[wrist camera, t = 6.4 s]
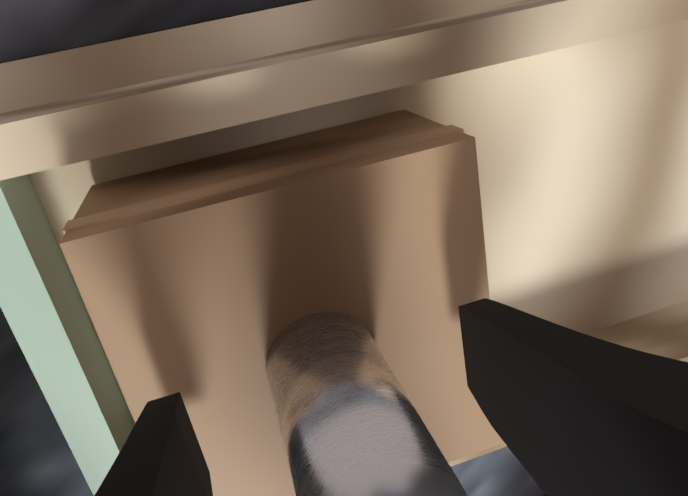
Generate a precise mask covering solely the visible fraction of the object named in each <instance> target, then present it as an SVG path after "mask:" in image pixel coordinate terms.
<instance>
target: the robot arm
mask: <svg viewBox="0 0 688 496" xmlns="http://www.w3.org/2000/svg"><path fill="white" fill-rule="evenodd" d="M458 309H459V317H460V326H461V335H462V343H463V352H464V360H465V369H466V377H467V386H468V388H469V390H470V391H471V393H472V395H473V396H474V398H475V400H476V401H477V403H478V405H479V407H480V408H481V410H482V412H483V413H484V415H485V416H486V418H487V420H488V421H489V423H490V424H491V426H492V427H493V428H494V430H495V431H496V432H497V434H498V435H499V436H500V437H501V439H502V440H503V441H504V443H505V444H506V445H507V446H508V448H509V449H510V450H511V451H512V453H513V454H514V455H515V456H516V458H517V459H518V460H519V461H520V463H521V464H522V465H523V466H524V468H525V469H526V470H527V471H528V473H529V474H530V475H531V476H532V477H533V479H534V480H535V481H536V482H537V484H538V485H539V486H540V487H541V489H542V490H543V491H544V492H545V494H546V495H547V496H688V362H684V361H680V360H676V359H672V358H667V357H663V356H659V355H655V354H650V353H646V352H642V351H639V350H635V349H631V348H628V347H625V346H621V345H618V344H615V343H611V342H608V341H605V340H602V339H598V338H595V337H592V336H589V335H586V334H583V333H580V332H577V331H575V330H572V329H569V328H566V327H563V326H561V325H558V324H555V323H553V322H550V321H547V320H545V319H542V318H539V317H537V316H534V315H531V314H529V313H526V312H524V311H521V310H518V309H516V308H513V307H510V306H508V305H505V304H502V303H499V302H496V301H494V300H490V299H487V298H484V299H480V300H477V301H474V302H471V303H467V304H464V305H461V306H458ZM94 496H213V492H212V485H211V478H210V472H209V469H208V466H207V463H206V461H205V458H204V455H203V453H202V450H201V447H200V445H199V442H198V439H197V437H196V434H195V431H194V429H193V426H192V423H191V421H190V418H189V415H188V413H187V410H186V407H185V404H184V402H183V399H182V396H181V394H180V392H178V393H175V394H171V395H168V396H165V397H162V398H158V399H155V400H152V401H149V402H147V404H146V405H145V407H144V409H143V410H142V412H141V414H140V416H139V417H138V419H137V421H136V423H135V425H134V427H133V429H132V430H131V432H130V434H129V436H128V438H127V440H126V442H125V443H124V445H123V447H122V449H121V451H120V452H119V454H118V456H117V458H116V460H115V461H114V463H113V465H112V466H111V468H110V470H109V472H108V473H107V475H106V477H105V478H104V480H103V482H102V484H101V485H100V487H99V489H98V490H97V492H96V494H95V495H94Z"/></svg>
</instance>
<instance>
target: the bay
mask: <svg viewBox="0 0 688 496" xmlns="http://www.w3.org/2000/svg"><path fill="white" fill-rule="evenodd" d="M401 110H407V111H409V112H412V113H414V114H417V115H420V116H422V117H425V118H427V119H430V120H432V121H435V122H437V123H440V124H442V125H445V126H448V125H454V126H457V127H459V128H462V129H464V133H465V134H468V135H470V136H473V137H475V141H476V152H477V163H478V174H479V185H480V196H481V207H482V218H483V230H484V241H485V252H486V263H487V274H488V285H489V296H490V300H494V301H496V302H499V303H502V304H505V305H508V306H510V307H513V308H516V309H518V310H521V311H524V312H526V313H529V314H531V315H534V316H537V317H539V318H542V319H545V320H547V321H550V322H553V323H555V324H558V325H561V326H563V327H566V328H569V329H572V330H575V331H577V332H580V333H583V334H586V335H589V336H592V337H595V338H598V339H602V340H605V341H608V342H611V343H615V344H618V345H621V346H625V347H628V348H631V349H635V350H639V351H642V352H646V353H650V354H655V355H659V356H663V357H667V358H672V359H676V360H680V361H684V362H688V0H311V1H307V2H302V3H297V4H292V5H287V6H282V7H277V8H272V9H267V10H262V11H257V12H252V13H247V14H242V15H238V16H233V17H228V18H223V19H218V20H213V21H208V22H203V23H198V24H193V25H188V26H183V27H178V28H173V29H168V30H164V31H159V32H154V33H149V34H144V35H139V36H134V37H129V38H124V39H119V40H114V41H109V42H104V43H99V44H94V45H90V46H85V47H80V48H75V49H70V50H65V51H60V52H55V53H50V54H45V55H40V56H35V57H30V58H25V59H21V60H16V61H11V62H6V63H1V64H0V307H1V309H2V311H3V313H4V315H5V317H6V319H7V321H8V323H9V325H10V328H11V330H12V332H13V334H14V336H15V338H16V340H17V342H18V344H19V346H20V348H21V350H22V352H23V354H24V356H25V358H26V360H27V362H28V364H29V366H30V368H31V370H32V372H33V374H34V376H35V378H36V380H37V382H38V384H39V386H40V388H41V390H42V392H43V394H44V396H45V398H46V400H47V402H48V404H49V406H50V408H51V410H52V412H53V414H54V416H55V418H56V420H57V422H58V425H59V427H60V429H61V431H62V433H63V435H64V437H65V439H66V441H67V443H68V445H69V447H70V449H71V451H72V453H73V455H74V457H75V459H76V461H77V463H78V465H79V467H80V469H81V471H82V473H83V475H84V477H85V479H86V481H87V483H88V485H89V487H90V489H91V491H92V493H93V495H95V494H96V492H97V490H98V489H99V487H100V485H101V484H102V482H103V480H104V478H105V477H106V475H107V473H108V472H109V470H110V468H111V466H112V465H113V463H114V461H115V460H116V458H117V456H118V454H119V452H120V451H121V449H122V447H123V445H124V443H125V442H126V440H127V438H128V436H129V434H130V432H131V430H132V429H133V427H134V425H135V421H134V419H133V416H132V414H131V412H130V409H129V407H128V405H127V402H126V400H125V397H124V395H123V393H122V390H121V388H120V386H119V383H118V381H117V379H116V376H115V374H114V372H113V369H112V367H111V364H110V362H109V360H108V357H107V355H106V353H105V350H104V348H103V346H102V343H101V341H100V339H99V336H98V334H97V331H96V329H95V327H94V324H93V322H92V320H91V317H90V315H89V313H88V310H87V308H86V306H85V303H84V301H83V298H82V296H81V294H80V291H79V289H78V287H77V284H76V282H75V280H74V277H73V275H72V272H71V270H70V268H69V265H68V263H67V261H66V258H65V256H64V254H63V251H62V249H61V247H60V242H61V240H62V238H63V236H64V235H63V233H62V230H63V228H64V226H65V224H66V223H67V221H68V220H72V219H73V218H74V216H75V215H76V213H77V211H78V209H79V207H80V206H81V204H82V202H83V200H84V198H85V197H86V195H87V193H88V191H89V189H90V188H91V186H92V185H96V184H100V183H104V182H108V181H112V180H116V179H120V178H124V177H129V176H133V175H137V174H141V173H145V172H149V171H153V170H158V169H162V168H166V167H170V166H174V165H178V164H182V163H186V162H191V161H195V160H199V159H203V158H207V157H211V156H215V155H220V154H224V153H228V152H232V151H236V150H240V149H244V148H248V147H253V146H257V145H261V144H265V143H269V142H273V141H277V140H281V139H286V138H290V137H294V136H298V135H302V134H306V133H310V132H315V131H319V130H323V129H327V128H331V127H335V126H339V125H343V124H348V123H352V122H356V121H360V120H364V119H368V118H372V117H376V116H381V115H385V114H389V113H393V112H397V111H401ZM504 447H507V445H506V444H505V443H504V441H503V443H502V444H499V445H496V446H494V447H491V448H488V449H485V450H482V451H480V452H477V453H474V454H471V455H468V456H465V457H463V458H460V459H457V460H454V461H451V462H449V463H448V464H449V465H450V467H451V466H453V465H456V464H459V463H462V462H465V461H467V460H470V459H473V458H476V457H479V456H481V455H484V454H487V453H490V452H493V451H495V450H498V449H501V448H504Z"/></svg>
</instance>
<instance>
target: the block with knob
mask: <svg viewBox="0 0 688 496" xmlns="http://www.w3.org/2000/svg"><path fill="white" fill-rule="evenodd" d="M62 233H63V235H64V236H63V238H62V240H61V242H60V247H61V249H62V251H63V254H64V256H65V258H66V261H67V263H68V265H69V268H70V270H71V272H72V275H73V277H74V280H75V282H76V284H77V287H78V289H79V291H80V294H81V296H82V298H83V301H84V303H85V306H86V308H87V310H88V313H89V315H90V317H91V320H92V322H93V324H94V327H95V329H96V331H97V334H98V336H99V339H100V341H101V343H102V346H103V348H104V350H105V353H106V355H107V357H108V360H109V362H110V364H111V367H112V369H113V372H114V374H115V376H116V379H117V381H118V383H119V386H120V388H121V390H122V393H123V395H124V397H125V400H126V402H127V405H128V407H129V409H130V412H131V414H132V416H133V419H134V421H135V423H136V421H137V419H138V417H139V416H140V414H141V412H142V410H143V409H144V407H145V405H146V404H147V402H149V401H152V400H155V399H158V398H162V397H165V396H168V395H171V394H175V393H178V392H180V394H181V396H182V399H183V402H184V404H185V407H186V410H187V413H188V415H189V418H190V421H191V423H192V426H193V429H194V431H195V434H196V437H197V439H198V442H199V445H200V447H201V450H202V453H203V455H204V458H205V461H206V463H207V466H208V469H209V472H210V478H211V485H212V492H213V496H467V495H466V492H465V490H464V489H463V487H462V485H461V484H460V482H459V480H458V479H457V477H456V475H455V474H454V472H453V470H452V469H451V467H450V465H449V464H448V463H449V462H451V461H454V460H457V459H460V458H463V457H465V456H468V455H471V454H474V453H477V452H480V451H482V450H485V449H488V448H491V447H494V446H496V445H499V444H502V443H503V440H502V439H501V437H500V436H499V435H498V434H497V432H496V431H495V430H494V428H493V427H492V426H491V424H490V423H489V421H488V420H487V418H486V416H485V415H484V413H483V412H482V410H481V408H480V407H479V405H478V403H477V401H476V400H475V398H474V396H473V395H472V393H471V391H470V390H469V388H468V386H467V377H466V369H465V360H464V352H463V343H462V335H461V326H460V317H459V309H458V306H461V305H464V304H467V303H471V302H474V301H477V300H480V299H484V298H487V299H490V296H489V285H488V274H487V263H486V252H485V241H484V230H483V218H482V207H481V196H480V185H479V174H478V163H477V152H476V141H475V137H473V136H470V135H468V134H465V133H464V129H462V128H459V127H457V126H454V125H448V126H445V125H442V124H440V123H437V122H435V121H432V120H430V119H427V118H425V117H422V116H420V115H417V114H414V113H412V112H409V111H407V110H401V111H397V112H393V113H389V114H385V115H381V116H376V117H372V118H368V119H364V120H360V121H356V122H352V123H348V124H343V125H339V126H335V127H331V128H327V129H323V130H319V131H315V132H310V133H306V134H302V135H298V136H294V137H290V138H286V139H281V140H277V141H273V142H269V143H265V144H261V145H257V146H253V147H248V148H244V149H240V150H236V151H232V152H228V153H224V154H220V155H215V156H211V157H207V158H203V159H199V160H195V161H191V162H186V163H182V164H178V165H174V166H170V167H166V168H162V169H158V170H153V171H149V172H145V173H141V174H137V175H133V176H129V177H124V178H120V179H116V180H112V181H108V182H104V183H100V184H96V185H92V186H91V188H90V189H89V191H88V193H87V195H86V197H85V198H84V200H83V202H82V204H81V206H80V207H79V209H78V211H77V213H76V215H75V216H74V218H73V219H72V220H68V221H67V223H66V224H65V226H64V228H63V230H62Z"/></svg>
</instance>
